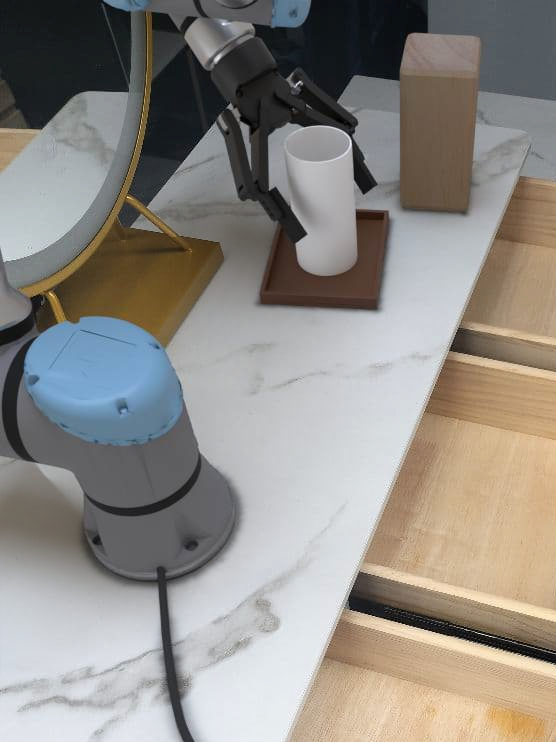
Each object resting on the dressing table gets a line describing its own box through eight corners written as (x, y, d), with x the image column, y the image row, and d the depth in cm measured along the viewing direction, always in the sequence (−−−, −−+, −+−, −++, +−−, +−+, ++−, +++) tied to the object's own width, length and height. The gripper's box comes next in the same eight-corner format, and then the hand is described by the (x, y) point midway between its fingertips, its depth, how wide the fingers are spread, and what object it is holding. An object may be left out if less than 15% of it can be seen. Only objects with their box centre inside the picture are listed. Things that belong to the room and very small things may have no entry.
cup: (288, 247, 112) (273, 134, 99) (343, 232, 114) (336, 119, 101) (310, 282, 108) (297, 169, 95) (367, 266, 110) (362, 153, 97)
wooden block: (471, 175, 123) (482, 32, 107) (468, 214, 118) (479, 70, 101) (406, 171, 124) (406, 29, 107) (399, 210, 118) (398, 66, 102)
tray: (376, 309, 106) (376, 298, 104) (261, 303, 106) (259, 293, 105) (389, 220, 117) (388, 210, 115) (283, 216, 117) (282, 205, 116)
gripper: (164, 79, 88) (282, 251, 95) (317, -1, 99) (413, 158, 107) (144, 112, 94) (256, 271, 102) (290, 33, 106) (382, 182, 113)
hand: (337, 214), depth 104 cm, fingers open, 13 cm apart
